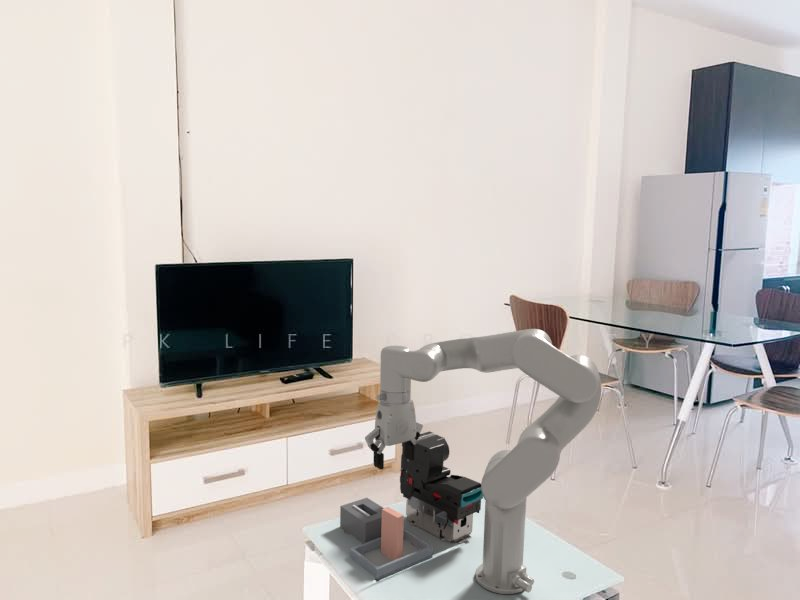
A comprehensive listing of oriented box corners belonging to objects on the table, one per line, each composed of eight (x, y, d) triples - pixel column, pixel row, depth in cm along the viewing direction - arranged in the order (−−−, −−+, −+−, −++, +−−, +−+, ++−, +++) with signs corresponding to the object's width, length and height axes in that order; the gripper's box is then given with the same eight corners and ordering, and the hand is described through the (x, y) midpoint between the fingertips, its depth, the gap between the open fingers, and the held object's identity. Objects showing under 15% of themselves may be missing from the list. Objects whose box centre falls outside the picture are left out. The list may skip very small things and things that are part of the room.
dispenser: (392, 538, 163) (392, 512, 162) (365, 548, 158) (365, 521, 157) (366, 520, 173) (367, 496, 172) (340, 529, 167) (340, 504, 166)
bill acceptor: (457, 552, 157) (461, 460, 154) (397, 520, 173) (399, 437, 170) (483, 539, 164) (486, 451, 161) (422, 509, 180) (425, 429, 177)
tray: (432, 557, 154) (432, 546, 154) (376, 581, 143) (377, 569, 143) (403, 538, 163) (404, 528, 163) (349, 559, 152) (349, 548, 152)
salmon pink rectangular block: (402, 560, 151) (403, 515, 150) (396, 563, 150) (397, 517, 148) (386, 550, 156) (387, 506, 154) (380, 553, 154) (381, 509, 153)
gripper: (376, 405, 140) (375, 476, 142) (431, 394, 150) (430, 460, 152) (357, 398, 146) (357, 466, 147) (412, 387, 156) (411, 451, 158)
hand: (394, 463), depth 150 cm, fingers open, 9 cm apart
